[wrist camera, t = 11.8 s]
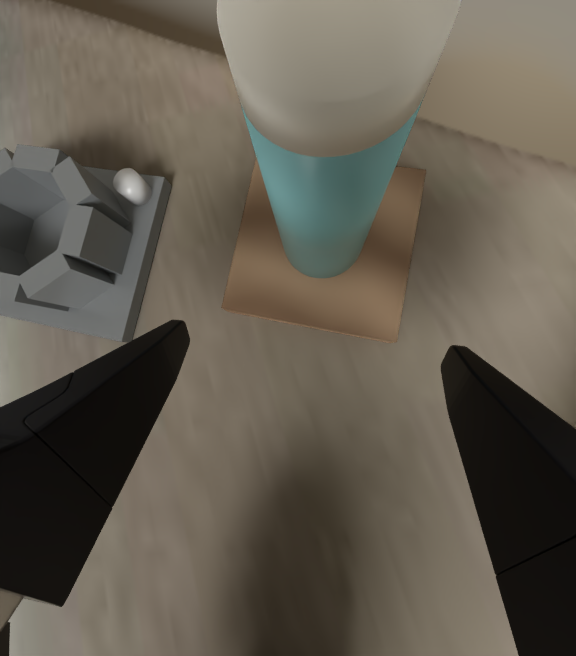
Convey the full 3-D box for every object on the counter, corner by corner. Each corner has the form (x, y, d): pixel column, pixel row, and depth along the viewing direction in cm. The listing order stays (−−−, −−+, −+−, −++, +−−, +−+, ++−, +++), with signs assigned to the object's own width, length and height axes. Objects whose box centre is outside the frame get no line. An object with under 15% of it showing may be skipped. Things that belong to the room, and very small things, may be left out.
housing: (131, 342, 20) (77, 337, 15) (-11, 311, 21) (-98, 299, 17) (171, 185, 21) (132, 138, 16) (33, 166, 22) (-37, 118, 18)
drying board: (390, 343, 18) (396, 341, 16) (228, 311, 19) (221, 307, 18) (417, 184, 19) (426, 169, 17) (262, 165, 20) (257, 150, 19)
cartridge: (324, 294, 17) (341, 149, 5) (267, 243, 18) (170, 16, 6) (379, 236, 17) (519, -37, 5) (320, 187, 18) (328, -146, 6)
